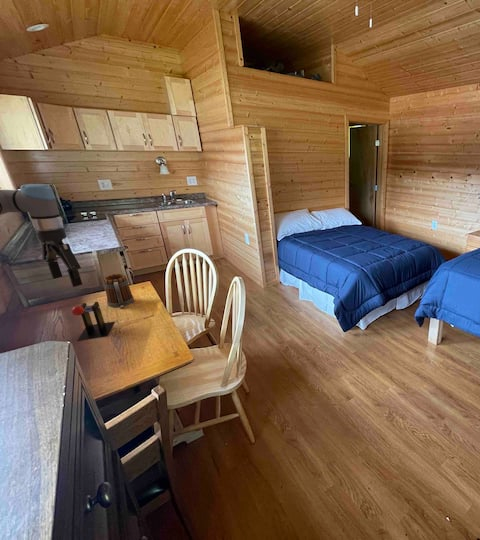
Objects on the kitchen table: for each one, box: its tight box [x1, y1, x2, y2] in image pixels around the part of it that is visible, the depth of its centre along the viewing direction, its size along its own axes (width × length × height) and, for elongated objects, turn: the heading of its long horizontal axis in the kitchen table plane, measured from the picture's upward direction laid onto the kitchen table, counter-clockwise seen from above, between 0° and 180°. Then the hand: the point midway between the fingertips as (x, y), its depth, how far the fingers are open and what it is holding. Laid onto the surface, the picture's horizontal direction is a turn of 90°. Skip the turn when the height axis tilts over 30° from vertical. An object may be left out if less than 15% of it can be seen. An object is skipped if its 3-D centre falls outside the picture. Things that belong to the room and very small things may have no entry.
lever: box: [71, 304, 93, 316], centre depth 118 cm, size 14×4×4 cm, turn 26°
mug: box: [103, 273, 135, 310], centre depth 146 cm, size 16×11×15 cm
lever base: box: [76, 301, 116, 342], centre depth 125 cm, size 12×10×14 cm
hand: (67, 281), depth 116 cm, fingers open, 13 cm apart
